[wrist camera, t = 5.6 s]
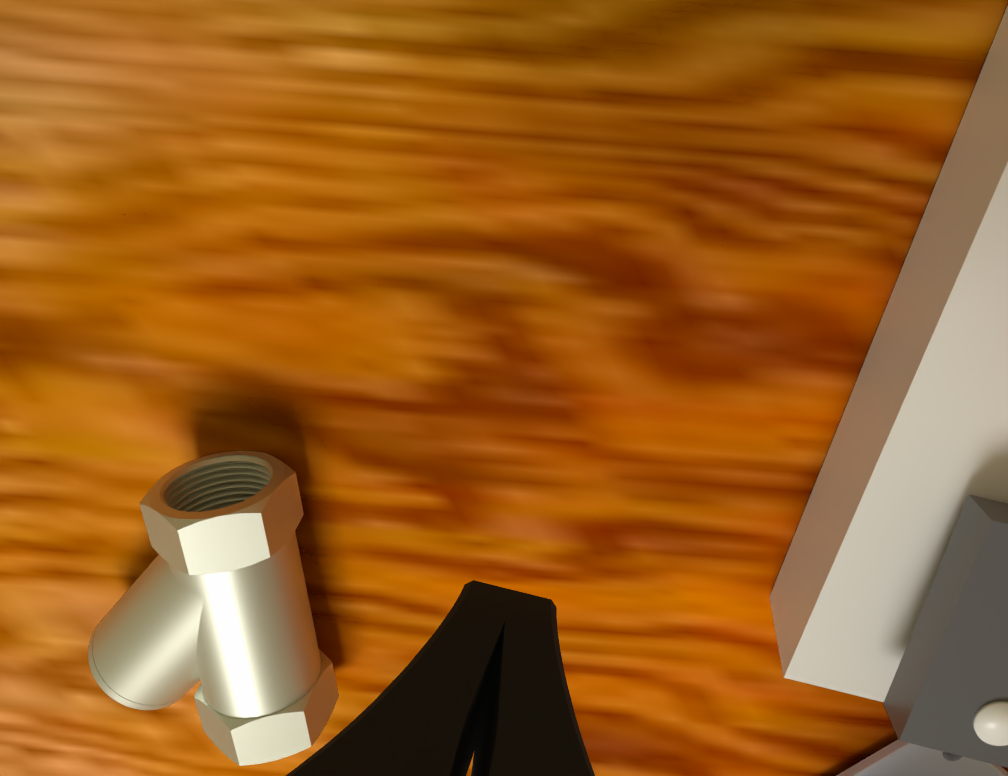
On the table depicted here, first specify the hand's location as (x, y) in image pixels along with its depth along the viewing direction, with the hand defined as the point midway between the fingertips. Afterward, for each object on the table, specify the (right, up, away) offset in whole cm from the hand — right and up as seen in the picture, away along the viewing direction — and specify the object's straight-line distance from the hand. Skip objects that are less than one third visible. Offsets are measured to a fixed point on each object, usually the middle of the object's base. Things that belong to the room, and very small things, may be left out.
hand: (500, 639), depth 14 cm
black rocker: (+11, -1, +4) cm, 11 cm away
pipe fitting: (-8, -1, +13) cm, 16 cm away
